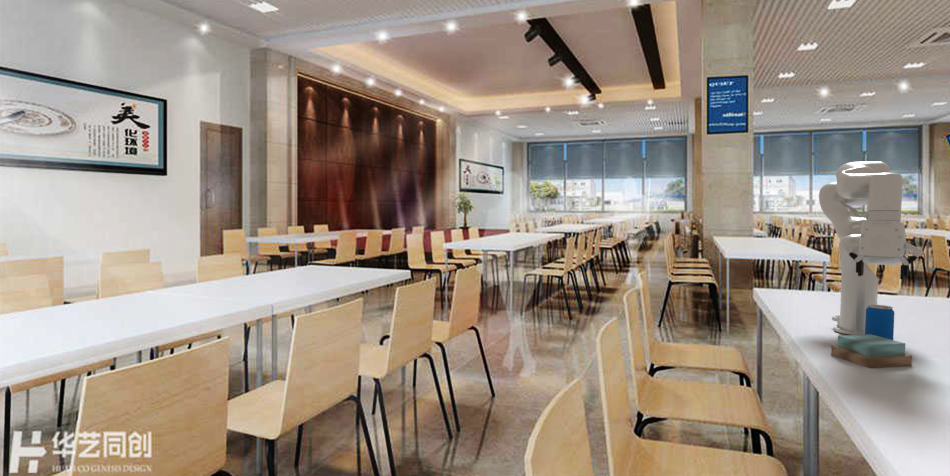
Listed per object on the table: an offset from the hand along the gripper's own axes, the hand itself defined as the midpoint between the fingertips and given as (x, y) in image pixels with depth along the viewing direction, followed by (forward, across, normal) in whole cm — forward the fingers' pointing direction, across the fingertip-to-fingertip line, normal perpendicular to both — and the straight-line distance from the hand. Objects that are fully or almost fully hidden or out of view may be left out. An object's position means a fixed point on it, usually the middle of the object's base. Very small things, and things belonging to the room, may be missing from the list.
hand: (881, 277), depth 149 cm
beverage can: (+21, 0, 0) cm, 21 cm away
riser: (+20, +1, -16) cm, 26 cm away
